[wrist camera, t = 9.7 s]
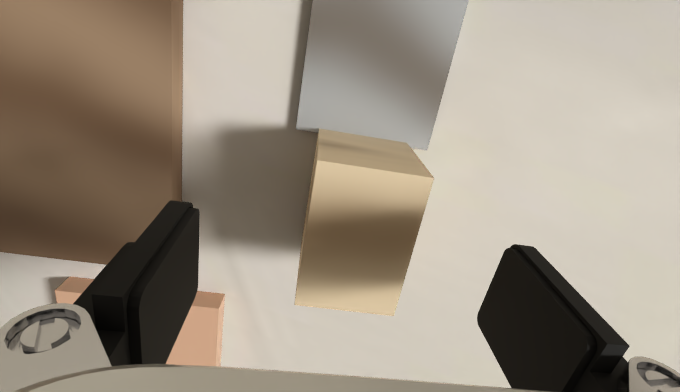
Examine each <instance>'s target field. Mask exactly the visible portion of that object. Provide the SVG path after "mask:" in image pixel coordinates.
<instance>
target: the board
mask: <svg viewBox="0 0 680 392" xmlns="http://www.w3.org/2000/svg"><path fill="white" fill-rule="evenodd" d="M182 79H183V0H0V252H5V253H14V254H22V255H31V256H39V257H47V258H56V259H64V260H72V261H81V262H89V263H98V264H106V265H107V264H108V263H109V262H110V261H111V260H112V258H113V257H114V256H115V255H116V254H117V253H118V252H119V250H120V249H121V248H122V247H123V246H124V245H125V244H126V243H127V242H135V241H136V240H137V239H138V238H139V237H140V235H141V234H142V233H143V232H144V231H145V229H146V228H147V227H148V226H149V225H150V223H151V222H152V221H153V220H154V219H155V217H156V216H157V215H158V214H159V213H160V211H161V210H162V209H163V208H164V207H165V205H166V204H167V203H168V202H169V201H170V200H173V201H181V202H182Z"/></svg>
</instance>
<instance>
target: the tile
mask: <svg viewBox="0 0 680 392" xmlns="http://www.w3.org/2000/svg"><path fill="white" fill-rule="evenodd" d="M93 280H94V279H87V278H78V277H69V278H68V279H66V280H65V281H64V282H63V283H62V284H61V285H60V286H59V287H58V288H57V289H56V290H55V294H56V301H57V303H68V304H73V303H74V302H75V301H76V300H77V299H78V297H79V296H80V295H81V294H82V293H83V292H84V291H85V289H86V288H87V287H88V286H89V285H90V284H91V283H92V281H93ZM224 299H225V294H220V293H211V292H202V291H197V293H196V297H195V299H194V301H193V304H192V306H191V308H190V310H189V313H188V315H187V317H186V319H185V321H184V324H183V326H182V328H181V330H180V333H179V335H178V337H177V339H176V342H175V344H174V346H173V348H172V351H171V353H170V355H169V357H168V360H167V362H166V364H174V365H200V366H220V365H221V348H222V332H223V315H224Z"/></svg>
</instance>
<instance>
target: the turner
mask: <svg viewBox="0 0 680 392" xmlns="http://www.w3.org/2000/svg"><path fill="white" fill-rule="evenodd" d="M467 4H468V0H313V1H312V9H311V16H310V24H309V32H308V40H307V47H306V55H305V63H304V71H303V78H302V86H301V94H300V102H299V109H298V117H297V125H296V129H298V130H304V131H310V132H316V133H318V138H317V144H316V151H315V157H314V164H313V170H312V177H311V183H310V190H309V196H308V203H307V209H306V216H305V222H304V229H303V235H302V242H301V251H300V260H299V269H298V279H297V288H296V297H295V305H300V306H309V307H318V308H327V309H335V310H344V311H353V312H362V313H371V314H380V315H389V316H394V313H395V310H396V307H397V303H398V300H399V296H400V293H401V289H402V286H403V283H404V279H405V276H406V272H407V269H408V266H409V262H410V259H411V255H412V252H413V248H414V245H415V242H416V238H417V235H418V231H419V228H420V224H421V221H422V218H423V214H424V211H425V207H426V204H427V201H428V197H429V194H430V190H431V187H432V183H433V180H434V177H433V176H432V175H431V174H430V172H429V171H428V170H427V168H426V167H425V166H424V164H423V163H422V162H421V160H420V159H419V158H418V157H417V155H416V154H415V153H414V151H413V150H412V149H411V148H415V149H421V150H427V149H428V145H429V142H430V138H431V135H432V131H433V127H434V124H435V120H436V116H437V113H438V109H439V106H440V102H441V98H442V95H443V91H444V87H445V84H446V80H447V77H448V73H449V69H450V66H451V62H452V58H453V55H454V51H455V48H456V44H457V40H458V37H459V33H460V29H461V26H462V22H463V19H464V15H465V11H466V8H467Z"/></svg>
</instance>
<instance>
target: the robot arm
mask: <svg viewBox="0 0 680 392" xmlns="http://www.w3.org/2000/svg"><path fill="white" fill-rule="evenodd" d="M198 258H199V209H196V208H193V205H192V203H189V202H181V201H173V200H170V201H169V202H168V203H167V204H166V205H165V207H164V208H163V209H162V210H161V211H160V213H159V214H158V215H157V216H156V217H155V219H154V220H153V221H152V222H151V223H150V225H149V226H148V227H147V228H146V229H145V231H144V232H143V233H142V234H141V235H140V237H139V238H138V239H137V240H136V241H135V242H127V243H126V244H125V245H124V246H123V247H122V248H121V249H120V250H119V252H118V253H117V254H116V255H115V256H114V257H113V258H112V260H111V261H110V262H109V263H108V264H107V265H106V266H105V268H104V269H103V270H102V271H101V272H100V273H99V274H98V276H97V277H96V278H95V279H94V280H93V281H92V283H91V284H90V285H89V286H88V287H87V288H86V289H85V291H84V292H83V293H82V294H81V295H80V296H79V297H78V299H77V300H76V301H75V302H74V303H73V304H68V303H57V304H49V305H44V306H39V307H36V308H33V309H31V310H28V311H25V312H23V313H21V314H20V315H18V316H16V317H14V318H12V319H11V320H10V321H8V322H7V323H6V324H5V325H4V326H3V327H1V328H0V392H680V374H679V373H678V372H676V371H675V370H673V369H672V368H670V367H668V366H666V365H664V364H663V363H660V362H658V361H655V360H653V359H650V358H646V357H633V358H631V359H630V360H629V362H627V361H626V360H625V359H624V358H623V357H622V356H623V355H624V353H625V352H626V351H627V349H628V348H629V345H628V344H627V343H626V342H625V341H624V340H623V339H622V338H621V337H620V336H619V335H618V334H617V332H616V331H615V330H614V329H613V328H612V327H611V326H610V325H609V324H608V323H607V322H606V321H605V320H604V319H603V318H602V317H601V316H600V315H599V314H598V313H597V312H596V311H595V310H594V309H593V308H592V307H591V305H590V304H589V303H588V302H587V301H586V300H585V299H584V298H583V297H582V296H581V295H580V294H579V293H578V292H577V291H576V290H575V289H574V288H573V287H572V286H571V285H570V284H569V283H568V282H567V281H566V280H565V279H564V277H563V276H562V275H561V274H560V273H559V272H558V271H557V270H556V269H555V268H554V267H553V266H552V265H551V264H550V263H549V262H548V261H547V260H546V259H545V258H544V257H543V256H542V255H541V254H540V253H539V252H538V251H537V249H536V248H534V247H531V246H524V245H516V244H514V245H512V246H511V247H510V248H508V249H506V250H505V251H504V253H503V256H502V258H501V261H500V263H499V265H498V268H497V270H496V272H495V275H494V277H493V279H492V282H491V284H490V286H489V289H488V291H487V293H486V296H485V298H484V301H483V303H482V305H481V308H480V310H479V312H478V316H477V321H478V325H479V327H480V329H481V331H482V333H483V335H484V337H485V339H486V340H487V342H488V344H489V346H490V348H491V350H492V352H493V354H494V356H495V357H496V359H497V361H498V363H499V365H500V367H501V369H502V371H503V373H504V374H505V376H506V378H507V380H508V382H509V384H510V386H511V388H501V387H489V386H477V385H464V384H451V383H438V382H426V381H413V380H399V379H386V378H373V377H360V376H346V375H332V374H318V373H304V372H290V371H276V370H263V369H249V368H235V367H221V366H200V365H174V364H166V362H167V360H168V357H169V355H170V353H171V351H172V348H173V346H174V344H175V342H176V339H177V337H178V335H179V333H180V330H181V328H182V326H183V324H184V321H185V319H186V317H187V315H188V313H189V310H190V308H191V306H192V304H193V301H194V299H195V297H196V293H197V288H198Z"/></svg>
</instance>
